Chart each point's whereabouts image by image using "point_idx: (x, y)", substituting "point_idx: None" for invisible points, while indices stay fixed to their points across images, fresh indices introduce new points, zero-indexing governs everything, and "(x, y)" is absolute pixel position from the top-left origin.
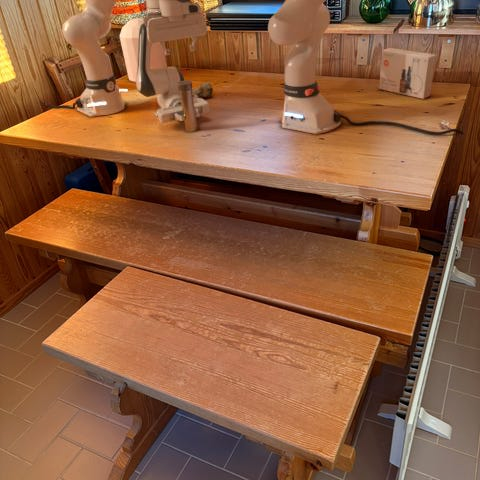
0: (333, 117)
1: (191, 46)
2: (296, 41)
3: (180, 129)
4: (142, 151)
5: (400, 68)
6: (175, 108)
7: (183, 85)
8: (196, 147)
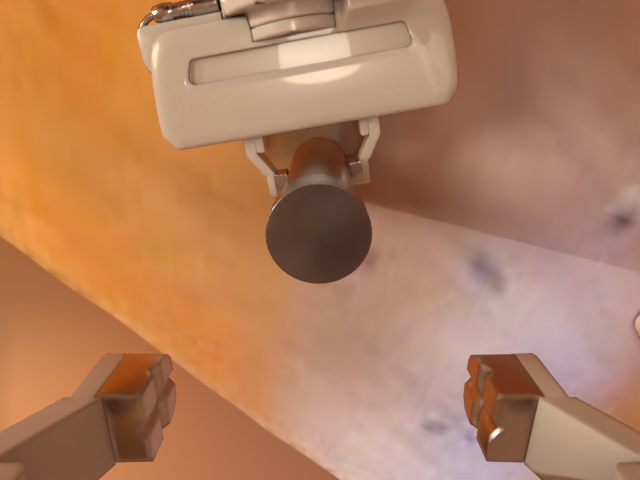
0: None
1: (503, 456)
2: None
3: (272, 136)
4: (105, 286)
5: None
6: (259, 85)
7: (300, 277)
8: (298, 339)
